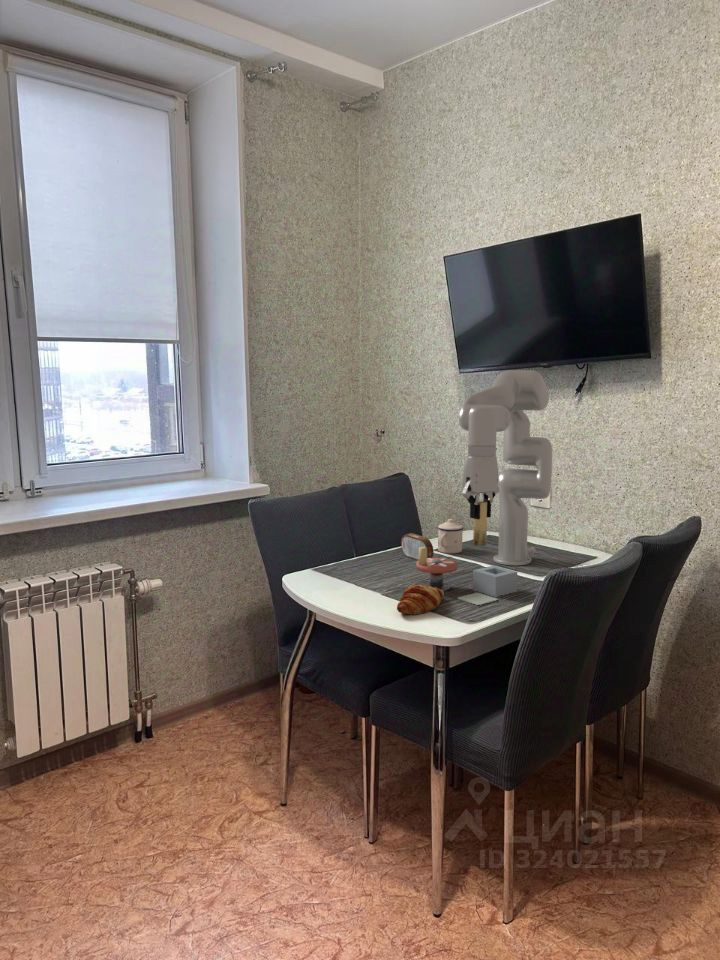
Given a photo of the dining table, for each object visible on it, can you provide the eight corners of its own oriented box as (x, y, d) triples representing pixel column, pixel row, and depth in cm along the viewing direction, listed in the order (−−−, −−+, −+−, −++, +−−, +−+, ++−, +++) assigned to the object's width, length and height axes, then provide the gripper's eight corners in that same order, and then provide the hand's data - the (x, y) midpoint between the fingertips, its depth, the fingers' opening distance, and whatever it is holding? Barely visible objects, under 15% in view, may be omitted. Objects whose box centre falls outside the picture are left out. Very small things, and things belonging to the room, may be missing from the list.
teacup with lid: (444, 546, 262) (444, 515, 261) (466, 549, 257) (467, 518, 256) (429, 553, 252) (429, 521, 251) (452, 556, 247) (453, 524, 246)
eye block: (493, 584, 214) (494, 565, 213) (516, 591, 207) (517, 571, 206) (472, 590, 209) (473, 570, 208) (495, 597, 201) (495, 577, 201)
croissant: (432, 608, 203) (422, 582, 205) (460, 597, 197) (449, 571, 199) (390, 627, 187) (379, 598, 188) (419, 616, 181) (407, 587, 182)
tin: (434, 563, 240) (434, 538, 238) (427, 564, 238) (427, 540, 237) (406, 554, 252) (406, 531, 251) (399, 555, 250) (399, 532, 249)
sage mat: (477, 593, 205) (477, 592, 205) (498, 600, 199) (498, 599, 198) (457, 598, 200) (457, 597, 200) (478, 606, 194) (478, 604, 194)
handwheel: (416, 572, 204) (416, 550, 203) (416, 562, 216) (416, 541, 215) (458, 573, 203) (458, 551, 202) (456, 563, 215) (456, 542, 214)
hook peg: (479, 542, 200) (480, 500, 198) (489, 544, 197) (490, 502, 195) (470, 544, 198) (471, 501, 196) (479, 546, 195) (480, 503, 193)
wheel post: (437, 583, 216) (437, 563, 215) (455, 589, 209) (456, 569, 209) (417, 587, 211) (417, 568, 210) (435, 594, 205) (435, 574, 204)
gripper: (492, 449, 202) (491, 512, 204) (450, 452, 192) (449, 518, 194) (512, 451, 196) (510, 516, 198) (470, 454, 186) (468, 523, 188)
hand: (480, 516), depth 196 cm, fingers closed on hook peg, 3 cm apart
